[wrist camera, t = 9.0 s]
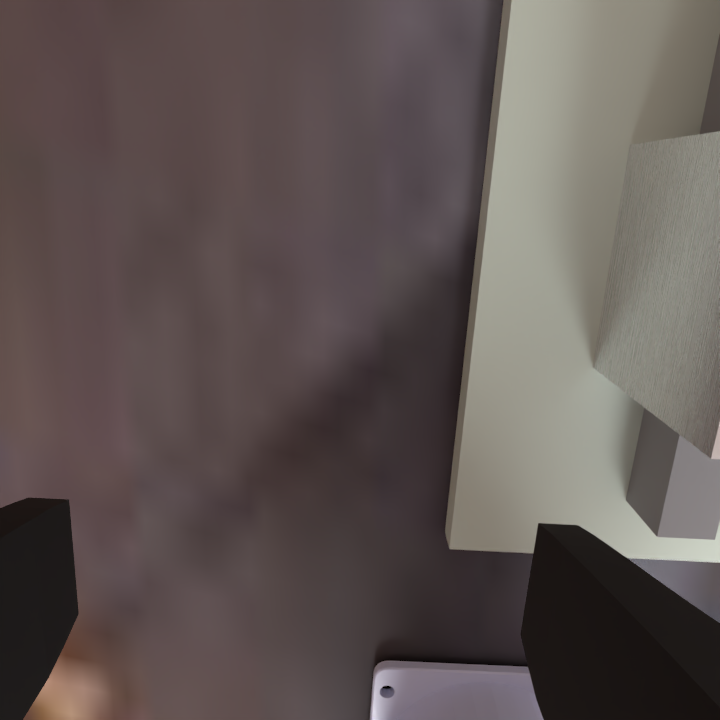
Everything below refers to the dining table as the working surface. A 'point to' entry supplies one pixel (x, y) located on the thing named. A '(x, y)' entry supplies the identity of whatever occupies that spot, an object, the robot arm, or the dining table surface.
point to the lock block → (667, 287)
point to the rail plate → (575, 284)
